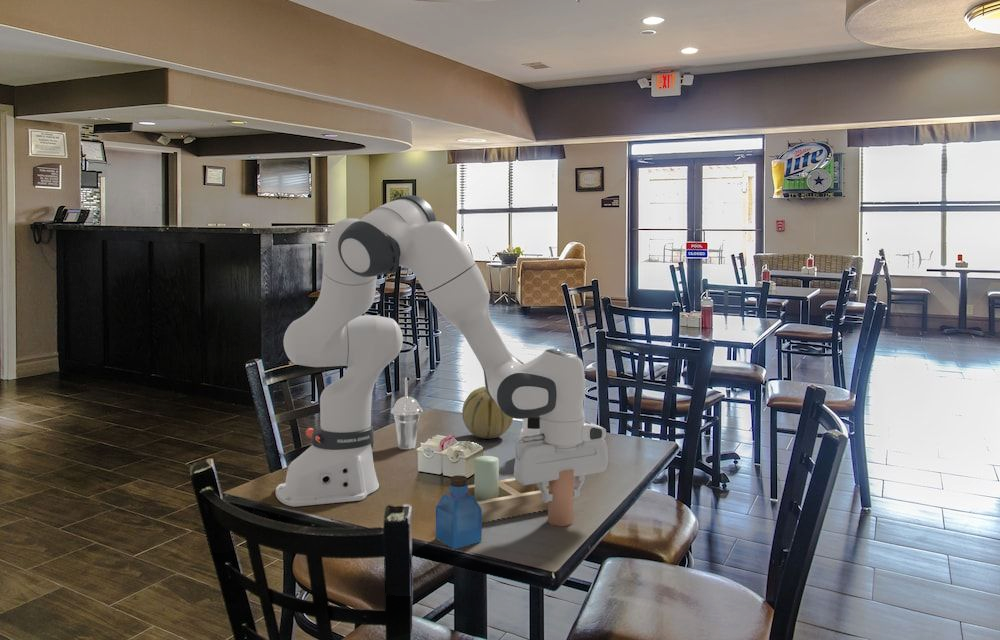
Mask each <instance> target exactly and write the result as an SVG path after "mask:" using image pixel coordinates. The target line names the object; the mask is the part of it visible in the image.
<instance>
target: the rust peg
mask: <svg viewBox="0 0 1000 640" xmlns="http://www.w3.org/2000/svg"><path fill="white" fill-rule="evenodd" d="M574 481H575V478H574V469H573V470H567V471H561V472H559V478H558V480H553V481H549V486H548V491H549V492H550V493H552V494H553V498H552V499H553V501H552V502H548V510H547V520H548V521H547V522H548V523H549V525H552V526H555V525H556V526H555V527H567V526H571V525H573V523H574Z"/></svg>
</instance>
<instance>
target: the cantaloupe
mask: <svg viewBox="0 0 1000 640" xmlns="http://www.w3.org/2000/svg"><path fill="white" fill-rule="evenodd" d="M461 410H462V421H463V423H464V425H465V427H466V429H467V430H468V432H469V433H471V434H472V435H473V436H474V437H478V438H480V439H487V440H490V439H496V438H499V437H500V436H503V435H504V434H505V433H506V432H507V431H508V430H509V429H510V427H511V425H512V422H513V419H514V418H512V417H510V416H508V415H506V414H505V413H504V412H503V411H502V410H501V409H500V408H499V407H498V405H497V404H496V403H495V402H493V401H492V400H491V398H490V397H489V395H488V393H487V391H486V387H485V386H481V387H478V388H476V389H474V390H471V392H470V393H469V395H467V397H466V399H465V400H464V403H463V406H462V409H461Z"/></svg>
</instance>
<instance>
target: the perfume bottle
mask: <svg viewBox="0 0 1000 640" xmlns="http://www.w3.org/2000/svg"><path fill="white" fill-rule="evenodd" d="M449 478H450V479H449V480H450V483H449V484H448V485H449V489H448V490H449V491H450V492H449V493H445V494H443V495H442V497H441V499H440V500H439V502H438V503H437V504H436V506H435V539H436V538H437V539H439V540H440V542H441V543H442V542H443V543H442V544H444V543H445V544H446V546H447V545H448V546H447V547H448V548H450V547H451V548H450V549H452V550H457V549H460V548H464V546H465V547H468V546H472V545H474V544H473V543H475V544H477V543H478V542H479V543H481V542H480V541H482V539H483V538H482V537H483V535H482V527H483V526H482V525H483V523H482V509H481V508H480V506H479V504H478V503H477V501H476V500H475V498H474V496H472V495H470V494H468V493H466V491H467V490H468V486H469V483H467V481H468V477H467V476H465V475H452V476H450V477H449ZM437 539H436V540H437ZM439 540H438V541H439ZM445 544H444V545H445ZM471 544H472V545H471ZM467 545H468V546H467Z"/></svg>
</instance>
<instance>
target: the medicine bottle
mask: <svg viewBox="0 0 1000 640" xmlns="http://www.w3.org/2000/svg"><path fill="white" fill-rule="evenodd" d="M538 434H540V416H535V417H530V418H525V419H522V428H521V429H520V433H519V436H518V437H519V439H518V441H519V440H521V439H522V437H524V436H533V435H538ZM521 442H523V441H521Z"/></svg>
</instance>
